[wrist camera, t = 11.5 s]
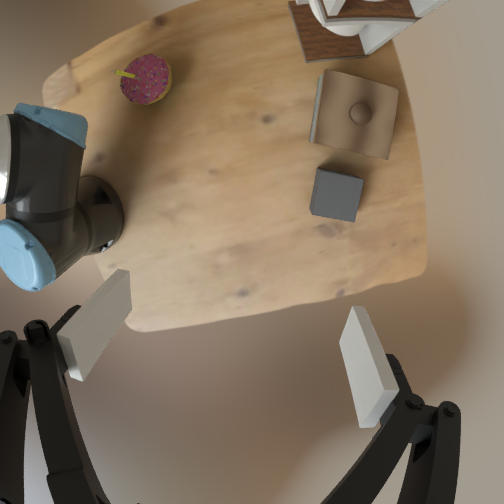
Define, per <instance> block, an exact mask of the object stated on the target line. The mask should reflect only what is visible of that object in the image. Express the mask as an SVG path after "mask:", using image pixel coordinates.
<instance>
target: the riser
mask: <svg viewBox="0 0 504 504" xmlns="http://www.w3.org/2000/svg"><path fill="white" fill-rule="evenodd" d="M363 182H364V180H363V179H361V178H360V177H358V176H354V175H349V174H345V173H340V172H335V171H330V170H325V169H320V168H317V171H316V176H315V182H314V187H313V193H312V198H311V203H310V208H309V209H310V211H311V213H312V215H316V216H322V217H328V218H333V219H339V220H344V221H349V222H355V218H356V214H357V210H358V205H359V201H360V196H361V192H362V187H363Z"/></svg>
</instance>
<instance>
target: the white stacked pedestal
mask: <svg viewBox="0 0 504 504" xmlns="http://www.w3.org/2000/svg"><path fill="white" fill-rule="evenodd" d="M447 1H449V0H296V1H289V3H288V8H289V10H290V14H291V17H292V20H293V23H294V26H295V29H296V32H297V36H298V39H299V42H300V46H301V49H302V53H303V56H304V60H305V63H309V62H317V61H326V60H336V59H347V58H362V57H367V56H369V55H370V54H371V53H373V52H374V51H375V50H377V49H378V48H380V47H381V46H382V45H384V44H385V43H386V42H388V41H389V40H391V39H392V38H393V37H395V36H396V35H398V34H399V33H400V32H402V31H403V30H405V29H406V28H408V27H409V26H410V25H412V24H413V23H415V22H416V21H418V20H419V19H421V18H422V17H424V16H425V15H427V14H428V13H430V12H432V11H433V10H435V9H436V8H438V7H439V6H441V5H443V4H444V3H446V2H447Z"/></svg>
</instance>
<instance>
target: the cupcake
mask: <svg viewBox="0 0 504 504" xmlns="http://www.w3.org/2000/svg"><path fill="white" fill-rule="evenodd" d="M112 72H115V74H117V75H121V76H122V78H121V85H120V87H121V89H122V91H123V94H124V95H125V96H126V97H127V98H128V99H130V101H132V102H134V103H136V104H147V105H149V104H152V103H154V102H156V101H159V100H161V99H162V98H163V97H164V96H165V94H166V93H167V92H168V91H169V90H170V88H171V84H172V73H171V66H170V64H169V63H168V61H167V60H165V59H164V58H161V57H159V56H155V55H152V54H149V55H145V56H142V57H139V58H136V59H135V60H134V61H132V62H131V63H130V64H129V65H128V67H127V68H126V69H125V70H124V72H123V71H119V70H116V71H112Z"/></svg>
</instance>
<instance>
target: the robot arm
mask: <svg viewBox="0 0 504 504" xmlns="http://www.w3.org/2000/svg"><path fill="white" fill-rule="evenodd" d="M87 130H88V123H87V120H86V119H85V117H83V116H82V115H79V114H75V113H70V112H66V111H61V110H57V109H51V108H47V107H41V106H36V105H30V104H24V103H18V104H17V106H16V108H15V109H14V114H2V115H1V116H0V204H5V203H6V219H3V220H1V221H0V266H1V268H2V269H3V270H4V272H5V273H6V275H7V276H8V277H9V279H10V280H11V281H13V282H14V283H15V284H16V285H17V286H19V287H20V288H22V289H24V290H27V291H38V290H41V289H42V288H43V287H45V286H46V285H48V284H51V283H52V282H54V281H55V279H56V278H58V277H59V276H60V275H61V274H62V273H63V272H65V271H66V270H67V269H68V268H69V267H71V266H72V265H73V264H74V263H75V262H77V261H78V260H79V259H80V258H81V257H83V256H86V255H93V254H98V253H101V252H104V251H105V250H107V249H108V248H110V247H111V246H112V245H113V244H114V243H115V242H116V241H117V240H118V238H119V237H120V235H121V232H122V228H123V222H124V216H123V209H122V205H121V202H120V200H119V197H118V195H117V194H116V192H115V191H114V189H113V188H112V187H111V186H110V185H109V184H108V183H106V182H105V181H103V180H102V179H100V178H97V177H91V176H88V177H82V178H80V173H81V166H82V160H83V154H84V149H86V145H85V142H86V136H87ZM131 310H132V303H131V290H130V274H129V271H127V270H122V269H117V270H116V271H115V272H114V273H113V274H112V275H111V276H110V277H109V278H108V279H107V280H106V281H105V283H104V284H103V285H102V286H101V287H100V288H99V289H98V290H97V291H96V292H95V293H94V294H93V295H92V296H91V297H90V298H89V299H88V300H87V301H86V302H85V303H84V304H83V306H80V305H75V306H74V307H72V308H70V309H69V310H68V311H67V312H66V313H65V314H64V316H62V317H61V318H60V320H58V321H57V322H56V323H55V324H54V326H53V327H52V328H51V329H50V330H49V327H48V325H47V323H46V322H45V321H43V320H33V321H30V322H29V323H27V324H26V325H25V327H24V330H23V331H24V334H25V337H26V339H27V340H18V337H17V335H16V333H15V332H13V331H10V330H8V331H4V332H1V333H0V504H24V442H25V429H26V419H27V409H28V402H29V395H30V387H31V386H32V394H33V401H34V407H35V414H36V419H37V425H38V430H39V435H40V439H41V444H42V448H43V452H44V456H45V460H46V464H47V467H48V472H49V474H48V475H47V483H48V486H49V489H50V492H51V495H52V498H53V501H54V504H111V503H110V502H109V500H108V498H107V497H106V495H105V493H104V491H103V489H102V487H101V484H100V482H99V480H98V478H97V475H96V473H95V470H94V468H93V465H92V463H91V460H90V458H89V455H88V452H87V450H86V447H85V444H84V441H83V439H82V435H81V432H80V429H79V426H78V423H77V419H76V416H75V413H74V409H73V406H72V402H71V398H70V394H69V390H68V386H67V382H66V378H65V375H64V373H65V372H66V370H67V369H68V371H69V373H70V376H71V377H72V378H75V379H77V380H80V381H84V380H85V378H86V377H87V375H88V373H89V372H90V370H91V369H92V367H93V366H94V364H95V363H96V361H97V360H98V358H99V357H100V355H101V354H102V352H103V350H104V349H105V348H106V346H107V345H108V343H109V342H110V340H111V339H112V337H113V336H114V335H115V333H116V332H117V330H118V329H119V327H120V326H121V324H122V323H123V322H124V320H125V319H126V317H127V316H128V314H129V313H130V312H131ZM339 343H340V347H341V351H342V355H343V359H344V362H345V366H346V370H347V374H348V378H349V383H350V386H351V391H352V395H353V399H354V404H355V408H356V412H357V417H358V422H359V426H360V428H366V427H367V428H368V427H375V425H376V424H377V423H378V421H379V420H380V424H381V428H380V429H379V430H378V431H377V433H376V434H375V435H374V437H373V438H372V440H371V442H370V443H369V445H368V446H367V447H366V449H365V450H364V452H363V453H362V454H361V456H360V457H359V458H358V460H357V461H356V462H355V464H354V465H353V466H352V467H351V469H350V470H349V471H348V473H347V474H346V475H345V476H344V477H343V479H342V480H341V481H340V482H339V483H338V485H337V486H336V487H335V488H334V489H333V490H332V491H331V493H330V494H329V495H328V496H327V497H326V498H325V499H324V500H323V501H322V503H321V504H371V503H372V502H373V500H374V499H375V498H376V496H377V495H378V493H379V492H380V490H381V489H382V487H383V486H384V484H385V482H386V481H387V479H388V478H389V476H390V475H391V473H392V471H393V469H394V468H395V466H396V465H397V463H398V461H399V459H400V458H401V456H402V454H403V452H404V450H405V448H406V446H407V445H408V443H412V446H411V451H410V456H409V460H408V465H407V469H406V473H405V477H404V481H403V485H402V488H401V492H400V495H399V499H398V502H397V504H454V500H455V493H456V486H457V478H458V468H459V456H460V436H461V435H460V434H461V413H460V409H459V408H458V406H457V405H456V404H454V403H452V402H450V401H444V402H442V403H441V404H440V405H439V406H438V407H433V406H429V405H425V403H424V401H423V399H422V398H421V397H419V396H418V395H416V394H413V393H412V391H411V388H410V386H409V384H408V382H407V379H406V377H405V375H404V372H403V370H402V369H401V368H402V367H401V365H400V363H399V361H398V360H397V359H396V358H395V356H394V355H393V354H385V353H384V350H383V348H382V346H381V343H380V341H379V339H378V336H377V334H376V332H375V329H374V327H373V325H372V323H371V320H370V318H369V316H368V314H367V312H366V309H365V307H361V306H352V308H351V311H350V314H349V317H348V320H347V323H346V325H345V328H344V331H343V333H342V336H341V339H340V342H339ZM137 504H139V503H137Z"/></svg>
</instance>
